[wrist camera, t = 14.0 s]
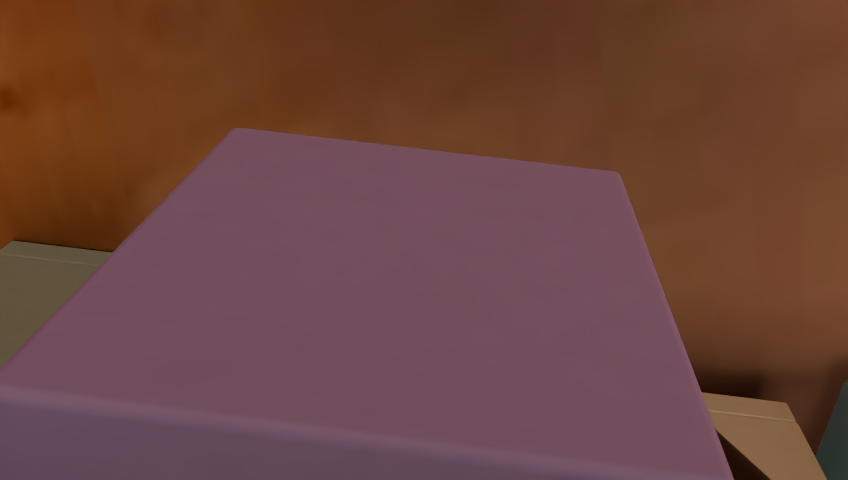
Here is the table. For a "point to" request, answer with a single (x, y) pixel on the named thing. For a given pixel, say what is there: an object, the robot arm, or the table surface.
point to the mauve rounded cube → (365, 330)
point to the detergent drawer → (782, 437)
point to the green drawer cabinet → (37, 287)
